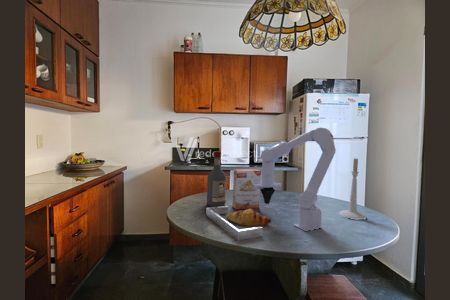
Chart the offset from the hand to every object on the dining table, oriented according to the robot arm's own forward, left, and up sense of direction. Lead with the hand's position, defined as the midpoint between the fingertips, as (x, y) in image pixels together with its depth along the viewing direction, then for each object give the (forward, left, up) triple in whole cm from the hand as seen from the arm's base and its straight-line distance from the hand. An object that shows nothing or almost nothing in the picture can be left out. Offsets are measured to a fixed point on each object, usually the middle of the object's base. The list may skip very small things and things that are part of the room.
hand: (266, 203), depth 125 cm
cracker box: (-1, -21, -8) cm, 22 cm away
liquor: (+12, -32, -8) cm, 35 cm away
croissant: (+10, 0, -8) cm, 13 cm away
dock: (+19, 0, -8) cm, 21 cm away
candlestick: (-45, +11, -8) cm, 47 cm away
